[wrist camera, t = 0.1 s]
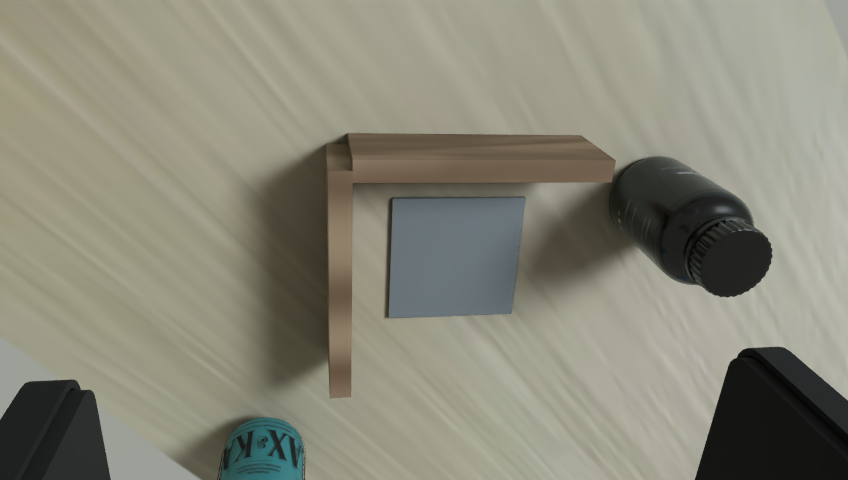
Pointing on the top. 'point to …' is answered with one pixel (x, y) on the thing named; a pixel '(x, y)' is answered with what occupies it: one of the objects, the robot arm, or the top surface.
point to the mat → (454, 255)
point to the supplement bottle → (690, 226)
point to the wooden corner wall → (430, 164)
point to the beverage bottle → (263, 452)
